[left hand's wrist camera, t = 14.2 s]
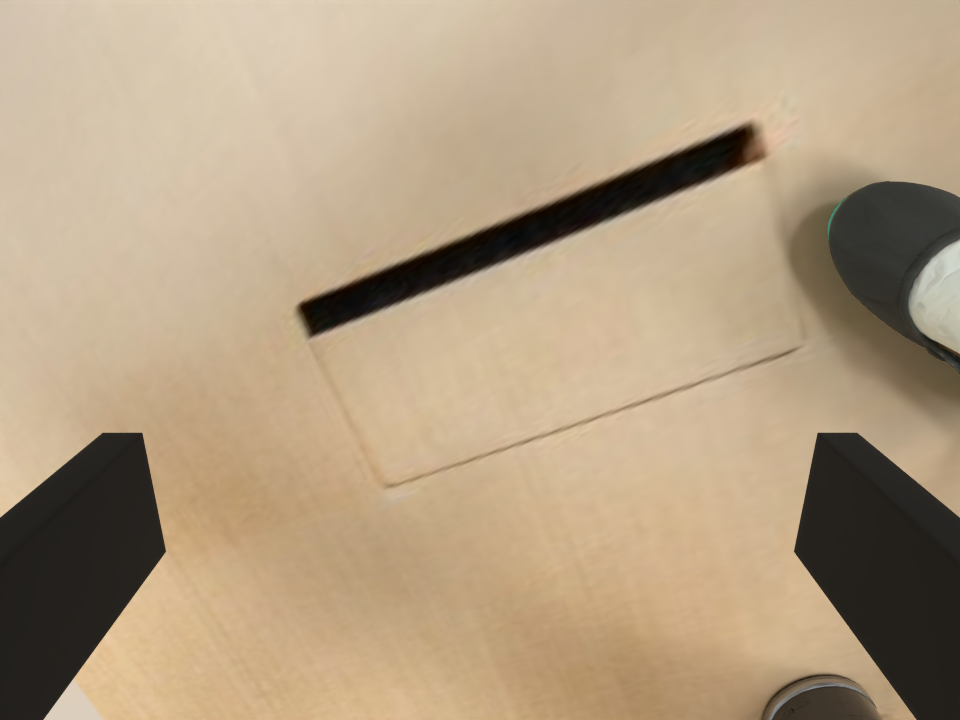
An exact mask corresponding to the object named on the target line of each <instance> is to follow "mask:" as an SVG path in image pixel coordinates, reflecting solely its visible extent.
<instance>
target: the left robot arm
mask: <svg viewBox="0 0 960 720" xmlns="http://www.w3.org/2000/svg"><path fill="white" fill-rule="evenodd" d="M165 552H166V549H165V544H164V539H163V534H162V529H161V524H160V519H159V514H158V509H157V504H156V499H155V494H154V489H153V484H152V479H151V474H150V469H149V464H148V459H147V454H146V449H145V444H144V439H143V434H142V433H102V434H101V435H100V436H98V437H97V438H96V439H95V440H94V441H92V442H91V443H90V444H89V445H88V446H86V447H85V448H84V449H83V450H82V451H80V452H79V453H78V454H77V455H76V456H74V457H73V458H72V459H71V460H69V461H68V462H67V463H66V464H65V465H63V466H62V467H61V468H60V469H59V470H57V471H56V472H55V473H54V474H53V475H51V476H50V477H49V478H48V479H46V480H45V481H44V482H43V483H42V484H40V485H39V486H38V487H37V488H36V489H34V490H33V491H32V492H31V493H30V494H28V495H27V496H26V497H25V498H24V499H22V500H21V501H20V502H19V503H17V504H16V505H15V506H14V507H13V508H11V509H10V510H9V511H8V512H7V513H5V514H4V515H3V516H2V517H1V518H0V720H43V719H44V718H45V717H46V715H47V714H48V713H49V711H50V710H51V708H52V707H53V706H54V704H55V703H56V702H57V700H58V699H59V698H60V696H61V695H62V693H63V692H64V691H65V689H66V688H67V687H68V685H69V684H70V682H71V681H72V680H73V678H74V677H75V676H76V674H77V673H78V671H79V670H80V669H81V667H82V666H83V665H84V663H85V662H86V661H87V659H88V658H89V656H90V655H91V654H92V652H93V651H94V650H95V648H96V647H97V645H98V644H99V643H100V641H101V640H102V639H103V637H104V636H105V634H106V633H107V632H108V630H109V629H110V628H111V626H112V625H113V623H114V622H115V621H116V619H117V618H118V617H119V615H120V614H121V613H122V611H123V610H124V608H125V607H126V606H127V604H128V603H129V602H130V600H131V599H132V597H133V596H134V595H135V593H136V592H137V591H138V589H139V588H140V586H141V585H142V584H143V582H144V581H145V580H146V578H147V577H148V576H149V574H150V573H151V571H152V570H153V569H154V567H155V566H156V565H157V563H158V562H159V560H160V559H161V558H162V556H163V555H164V554H165ZM794 552H795V554H796V555H797V556H798V558H799V559H800V560H801V562H802V563H803V565H804V566H805V567H806V569H807V570H808V571H809V573H810V574H811V576H812V577H813V578H814V580H815V581H816V582H817V584H818V585H819V586H820V588H821V589H822V591H823V592H824V593H825V595H826V596H827V597H828V599H829V600H830V602H831V603H832V604H833V606H834V607H835V608H836V610H837V611H838V613H839V614H840V615H841V617H842V618H843V619H844V621H845V622H846V624H847V625H848V626H849V628H850V629H851V630H852V632H853V633H854V634H855V636H856V637H857V639H858V640H859V641H860V643H861V644H862V645H863V647H864V648H865V650H866V651H867V652H868V654H869V655H870V656H871V658H872V659H873V661H874V662H875V663H876V665H877V666H878V667H879V669H880V670H881V671H882V673H883V674H884V676H885V677H886V678H887V680H888V681H889V682H890V684H891V685H892V687H893V688H894V689H895V691H896V692H897V693H898V695H899V696H900V698H901V699H902V700H903V702H904V703H905V704H906V706H907V707H908V709H909V710H910V711H911V713H912V714H913V715H914V717H915V718H916V719H917V720H960V518H959V517H958V516H957V515H956V514H955V513H953V512H952V511H951V510H950V509H949V508H947V507H946V506H945V505H944V504H943V503H941V502H940V501H939V500H938V499H936V498H935V497H934V496H933V495H932V494H930V493H929V492H928V491H927V490H926V489H924V488H923V487H922V486H921V485H920V484H918V483H917V482H916V481H915V480H914V479H912V478H911V477H910V476H909V475H907V474H906V473H905V472H904V471H903V470H901V469H900V468H899V467H898V466H897V465H895V464H894V463H893V462H892V461H891V460H889V459H888V458H887V457H886V456H884V455H883V454H882V453H881V452H880V451H878V450H877V449H876V448H875V447H874V446H872V445H871V444H870V443H869V442H868V441H866V440H865V439H864V438H863V437H862V436H860V435H859V434H858V433H818V434H817V439H816V444H815V449H814V454H813V459H812V464H811V469H810V474H809V479H808V484H807V489H806V494H805V499H804V504H803V509H802V514H801V519H800V524H799V529H798V534H797V539H796V544H795V549H794Z"/></svg>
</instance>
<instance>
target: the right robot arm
mask: <svg viewBox="0 0 960 720" xmlns="http://www.w3.org/2000/svg"><path fill="white" fill-rule="evenodd" d="M763 720H883V718H882V717H881V715H880V714H879V712H878V711H877V709H876V706H875V704H874V703H873V701H872V700H871V698H870V697H869V695H868V694H867V693H866V691H865V690H864V689H863V688H862V687H861V686H860V685H858V684H857V683H855V682H853V681H851V680H848V679H845V678H842V677H836V676H818V677H812V678H808V679H804V680H801V681H798V682H796V683H794V684H792V685H790V686H788V687H787V688H785V689H784V690H782V691H781V692H780V693H779V694H777V695H776V696H775V697H774V698H773V700H772V701H771V702H770V704H769V705H768V707H767V709H766V711H765V714H764V717H763Z"/></svg>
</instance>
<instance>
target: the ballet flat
mask: <svg viewBox="0 0 960 720" xmlns="http://www.w3.org/2000/svg"><path fill="white" fill-rule="evenodd" d="M827 234H828V240H829V245H830V251H831V255H832V258H833V261H834V264H835V267H836V269H837V271H838V273H839V275H840V276H841V278H842V280H843V282H844V283H845V285H846V286H847V287H848V289H849V291H850V292H851V294H853V295H854V296H855V297H856V298H857V299H859V301H860V302H862V304H863V305H865V306H866V307H867V308H868V309H869V310H870V311H871V312H872V313H873V314H875V315H876V316H877V317H878V318H879V319H881V320H882V321H884V322H885V323H886V324H887V325H889V326H890V327H892V328H893V329H894V330H896V331H897V332H899V333H900V334H902V335H903V336H905V337H906V338H908V339H910V340H912V341H913V342H915V343H917V344H919V345H921V346H923V347H925V348H926V349H927V351H928V352H929V353H930V354H931V355H933V356H934V357H936V358H938V359H940V360H943V361H946V362H948V363H949V364H950V365H951V366H952V367H954V368H955V369H956V370H957V371H958V372H959V373H960V198H959V197H957V196H956V195H954V194H952V193H949V192H947V191H944V190H941V189H938V188H934V187H931V186H926V185H921V184H915V183H908V182H889V181H886V182H879V183H873V184H870V185H868V186H866V187H864V188H861V189H859V190H857V191H855V192H854V193H852V194H851V195H849V196H848V197H846V198H845V199H844V200H842V201H841V202H840V203H839V204H838V205H837V207H836V208H835V210H834V211H833V213H832V215H831V217H830V219H829V223H828V232H827Z"/></svg>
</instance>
